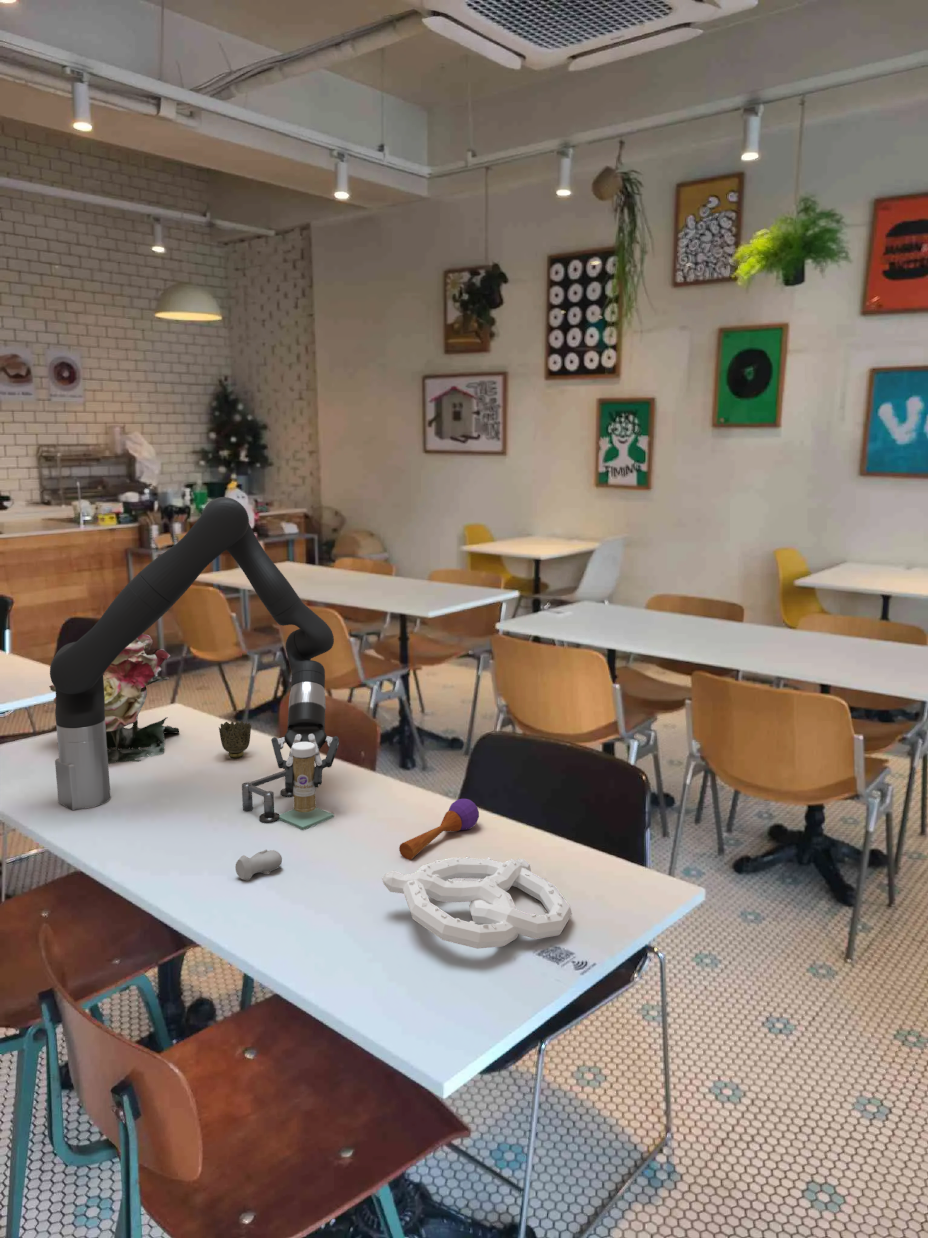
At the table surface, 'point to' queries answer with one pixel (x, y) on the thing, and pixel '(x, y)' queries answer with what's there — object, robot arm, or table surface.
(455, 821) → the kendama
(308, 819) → the pad
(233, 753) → the dark brown scalloped piece
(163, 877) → the table surface
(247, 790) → the grey jointed rod frame
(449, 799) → the table surface
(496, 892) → the pretzel
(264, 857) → the grey figurine
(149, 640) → the rose bouquet
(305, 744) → the sprinkles bottle
